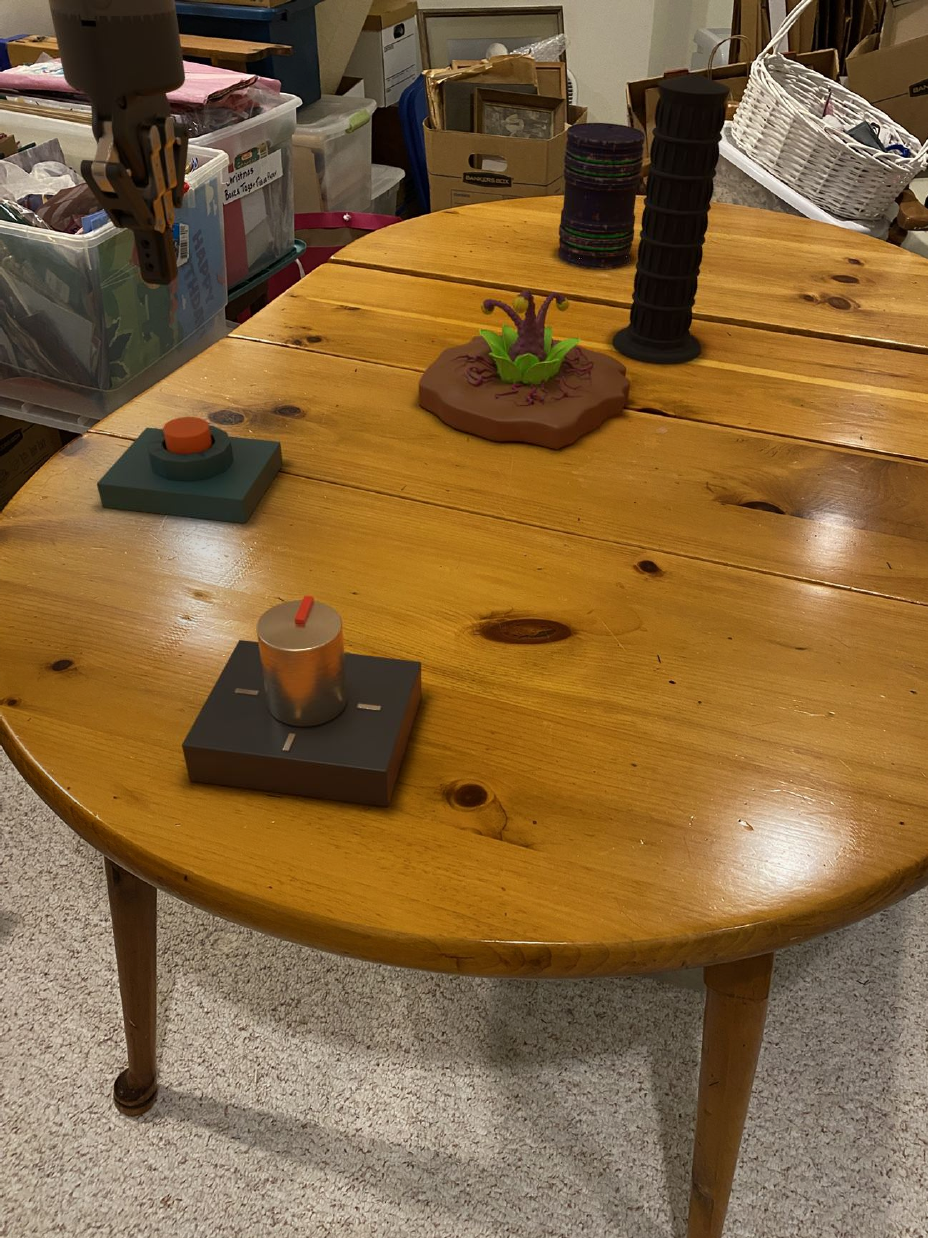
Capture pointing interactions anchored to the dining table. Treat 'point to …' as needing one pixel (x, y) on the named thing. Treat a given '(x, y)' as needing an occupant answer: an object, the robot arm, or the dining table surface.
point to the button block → (192, 477)
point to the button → (187, 435)
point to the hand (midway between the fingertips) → (160, 280)
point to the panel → (307, 733)
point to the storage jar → (600, 194)
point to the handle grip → (674, 220)
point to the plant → (524, 381)
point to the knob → (303, 662)
